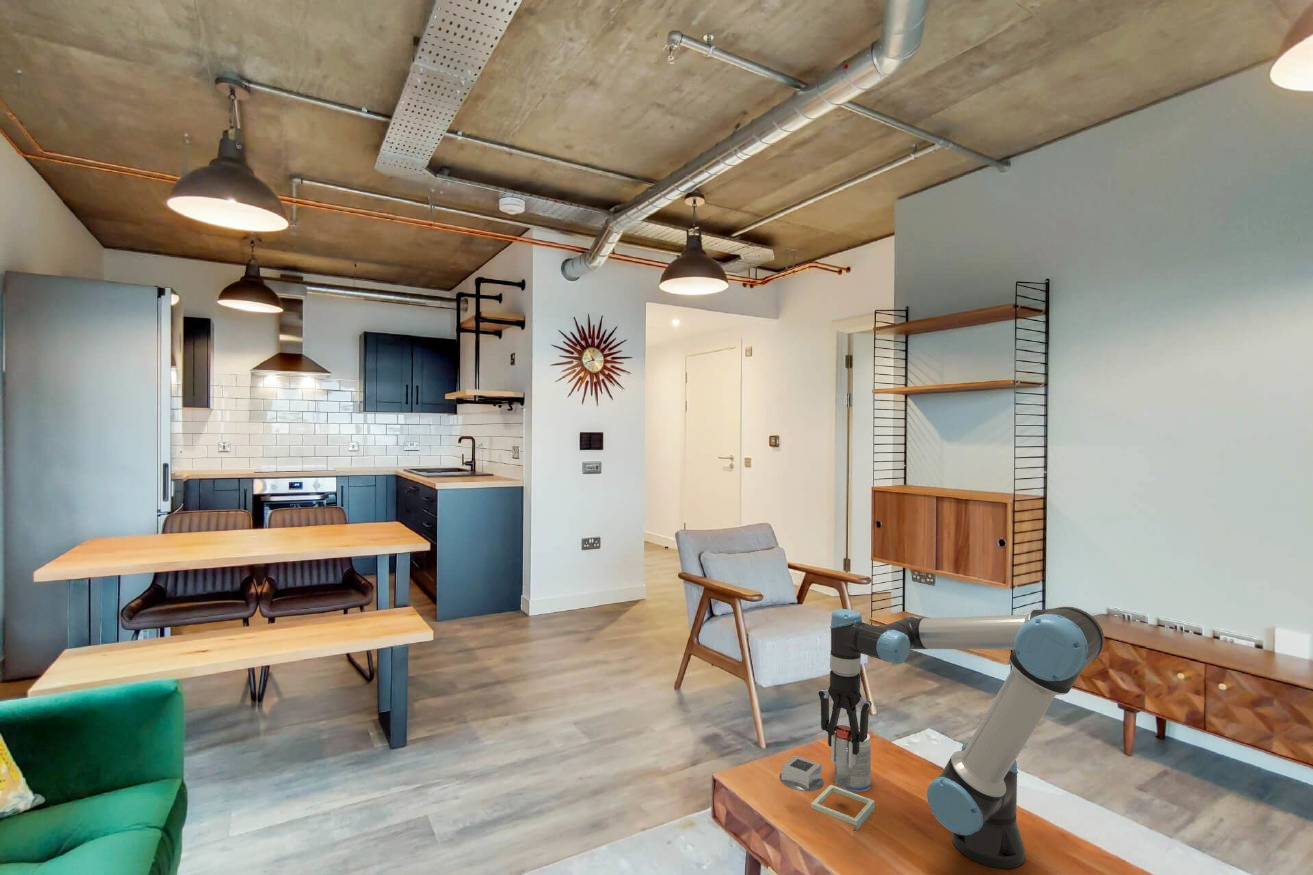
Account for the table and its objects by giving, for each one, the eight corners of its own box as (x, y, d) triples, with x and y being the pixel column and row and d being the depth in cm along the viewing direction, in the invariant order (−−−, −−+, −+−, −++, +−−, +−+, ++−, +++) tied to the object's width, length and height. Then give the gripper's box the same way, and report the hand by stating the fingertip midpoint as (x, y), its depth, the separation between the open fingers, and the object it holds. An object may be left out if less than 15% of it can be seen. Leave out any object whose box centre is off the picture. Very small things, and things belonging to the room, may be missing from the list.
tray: (874, 810, 166) (874, 800, 166) (856, 831, 156) (856, 821, 156) (830, 793, 173) (830, 784, 173) (810, 813, 164) (811, 803, 164)
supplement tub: (876, 788, 176) (877, 734, 176) (859, 801, 170) (860, 745, 170) (844, 774, 183) (845, 722, 183) (827, 786, 177) (828, 732, 177)
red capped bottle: (853, 782, 165) (854, 728, 165) (847, 788, 162) (848, 733, 162) (838, 777, 168) (839, 723, 168) (832, 783, 164) (833, 728, 165)
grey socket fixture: (831, 783, 178) (831, 763, 178) (812, 802, 169) (812, 781, 169) (791, 769, 186) (791, 750, 186) (771, 786, 176) (771, 766, 176)
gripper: (883, 675, 163) (881, 768, 162) (820, 659, 173) (818, 746, 173) (872, 683, 157) (870, 779, 157) (807, 667, 167) (806, 757, 167)
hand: (843, 762), depth 165 cm, fingers closed on red capped bottle, 4 cm apart
